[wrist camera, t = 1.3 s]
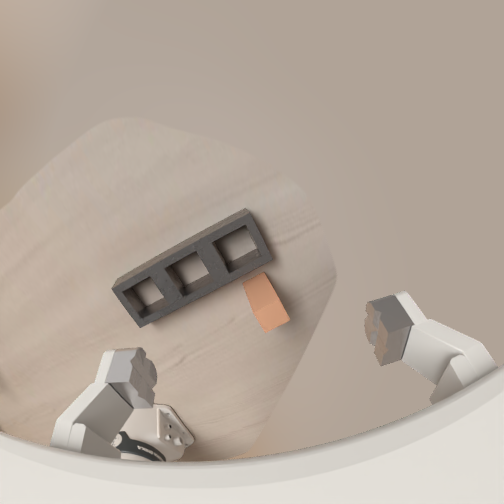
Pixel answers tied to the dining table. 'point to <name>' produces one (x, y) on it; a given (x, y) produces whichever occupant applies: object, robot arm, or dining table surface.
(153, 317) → the rail
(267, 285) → the peg
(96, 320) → the dining table surface
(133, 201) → the dining table surface
